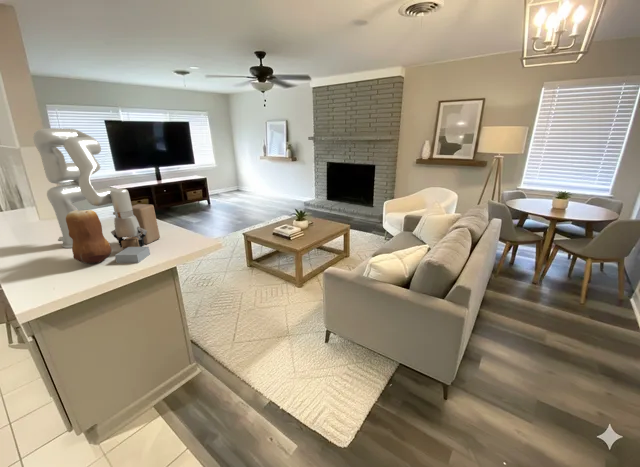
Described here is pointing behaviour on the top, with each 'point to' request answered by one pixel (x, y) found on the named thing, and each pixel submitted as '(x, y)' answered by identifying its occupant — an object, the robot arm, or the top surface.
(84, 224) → the butternut squash
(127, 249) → the pedestal
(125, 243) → the walnut cube
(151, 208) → the block
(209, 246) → the top surface
